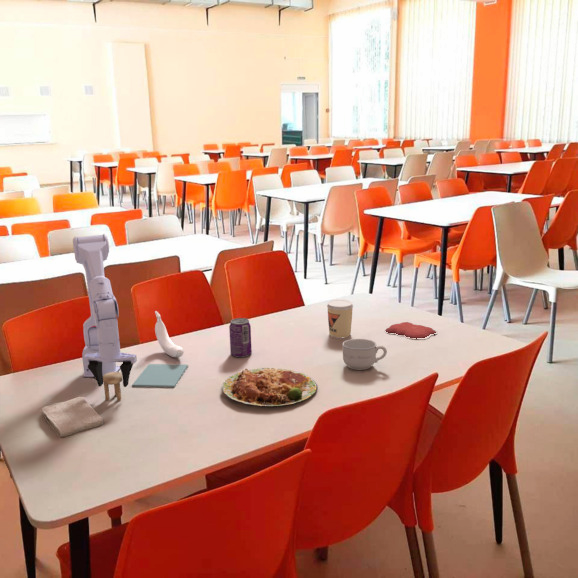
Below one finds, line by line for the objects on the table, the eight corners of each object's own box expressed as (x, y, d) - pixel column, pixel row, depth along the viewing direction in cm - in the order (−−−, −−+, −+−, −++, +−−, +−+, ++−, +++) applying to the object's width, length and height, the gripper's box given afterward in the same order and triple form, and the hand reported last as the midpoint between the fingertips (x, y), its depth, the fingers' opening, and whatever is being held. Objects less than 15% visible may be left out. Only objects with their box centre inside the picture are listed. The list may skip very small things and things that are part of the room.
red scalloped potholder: (380, 332, 228) (380, 327, 228) (401, 323, 238) (401, 318, 237) (421, 343, 217) (422, 338, 216) (441, 333, 226) (442, 327, 226)
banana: (178, 366, 200) (175, 323, 196) (152, 349, 215) (148, 309, 211) (191, 362, 203) (188, 320, 199) (165, 346, 218) (161, 306, 214)
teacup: (336, 369, 195) (336, 345, 193) (350, 357, 204) (350, 335, 202) (378, 377, 188) (379, 352, 186) (390, 364, 198) (391, 341, 196)
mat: (132, 386, 186) (132, 384, 185) (149, 365, 201) (148, 363, 201) (174, 387, 184) (174, 385, 184) (188, 366, 200) (188, 364, 200)
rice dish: (296, 369, 199) (295, 353, 198) (332, 401, 174) (332, 383, 173) (211, 383, 190) (210, 367, 188) (237, 419, 164) (236, 400, 163)
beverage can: (253, 350, 212) (251, 317, 209) (249, 358, 205) (248, 324, 202) (232, 350, 213) (231, 317, 209) (228, 358, 206) (227, 324, 202)
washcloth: (81, 402, 177) (80, 392, 176) (106, 426, 163) (104, 415, 162) (39, 415, 170) (37, 405, 169) (60, 440, 156) (59, 429, 155)
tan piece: (102, 401, 176) (100, 379, 174) (109, 393, 181) (107, 371, 179) (120, 402, 175) (117, 379, 174) (126, 394, 180) (124, 372, 179)
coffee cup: (322, 332, 228) (322, 301, 225) (344, 328, 232) (344, 298, 228) (334, 340, 220) (334, 308, 217) (357, 336, 224) (357, 304, 220)
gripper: (77, 345, 170) (83, 390, 174) (128, 346, 169) (133, 391, 173) (88, 336, 177) (93, 380, 181) (137, 337, 176) (141, 381, 179)
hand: (113, 385), depth 177 cm, fingers open, 7 cm apart
